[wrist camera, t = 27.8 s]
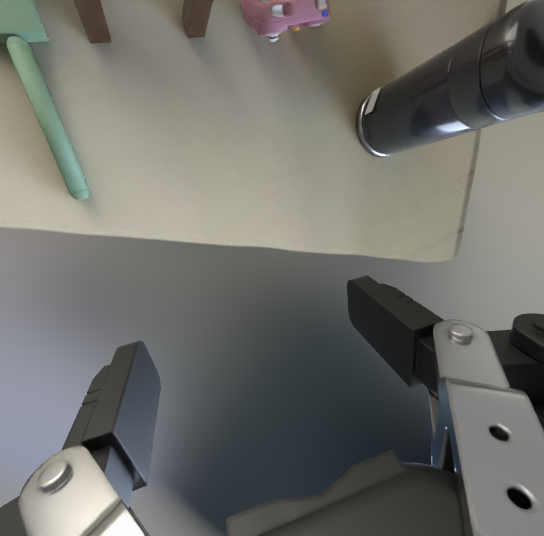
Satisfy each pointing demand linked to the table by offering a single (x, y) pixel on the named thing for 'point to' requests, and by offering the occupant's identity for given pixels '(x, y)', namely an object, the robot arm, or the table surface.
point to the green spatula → (39, 86)
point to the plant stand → (97, 30)
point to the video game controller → (284, 15)
